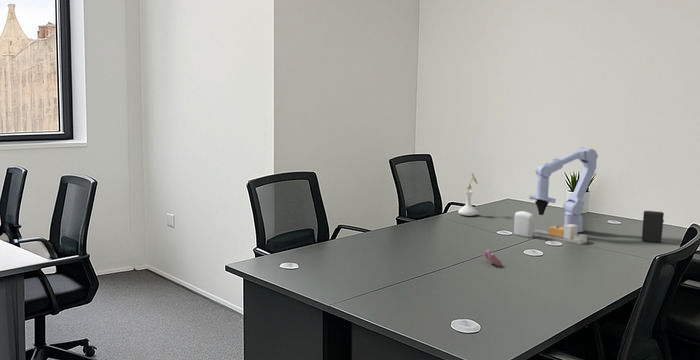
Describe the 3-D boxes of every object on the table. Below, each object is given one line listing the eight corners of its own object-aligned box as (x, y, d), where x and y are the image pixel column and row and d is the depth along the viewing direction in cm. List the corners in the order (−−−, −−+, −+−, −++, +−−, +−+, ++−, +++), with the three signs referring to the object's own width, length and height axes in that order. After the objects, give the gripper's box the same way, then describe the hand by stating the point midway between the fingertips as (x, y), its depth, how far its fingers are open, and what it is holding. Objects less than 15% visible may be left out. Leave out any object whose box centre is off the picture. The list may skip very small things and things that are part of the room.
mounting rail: (537, 232, 357) (537, 225, 356) (587, 242, 335) (587, 235, 334) (530, 233, 353) (530, 226, 353) (580, 244, 331) (581, 237, 331)
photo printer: (512, 234, 350) (513, 210, 349) (517, 233, 353) (518, 209, 351) (529, 238, 343) (530, 213, 341) (534, 237, 345) (535, 212, 343)
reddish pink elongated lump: (486, 263, 299) (479, 250, 298) (495, 259, 300) (489, 245, 298) (493, 270, 290) (487, 255, 288) (503, 265, 290) (496, 251, 289)
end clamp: (555, 232, 348) (555, 224, 348) (569, 235, 342) (569, 227, 342) (548, 234, 345) (548, 226, 344) (562, 237, 338) (562, 228, 338)
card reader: (661, 241, 339) (664, 211, 337) (661, 243, 335) (664, 213, 333) (641, 239, 343) (644, 210, 340) (641, 241, 339) (643, 211, 337)
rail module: (569, 235, 342) (570, 223, 341) (576, 237, 339) (577, 225, 338) (562, 237, 339) (563, 225, 338) (570, 238, 336) (570, 226, 335)
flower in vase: (473, 217, 391) (475, 174, 388) (455, 215, 397) (456, 172, 393) (481, 214, 402) (483, 171, 399) (463, 212, 408) (464, 170, 404)
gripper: (526, 187, 355) (524, 213, 357) (550, 191, 344) (548, 217, 346) (534, 186, 359) (532, 211, 361) (558, 189, 348) (556, 216, 350)
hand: (541, 214), depth 354 cm, fingers closed
